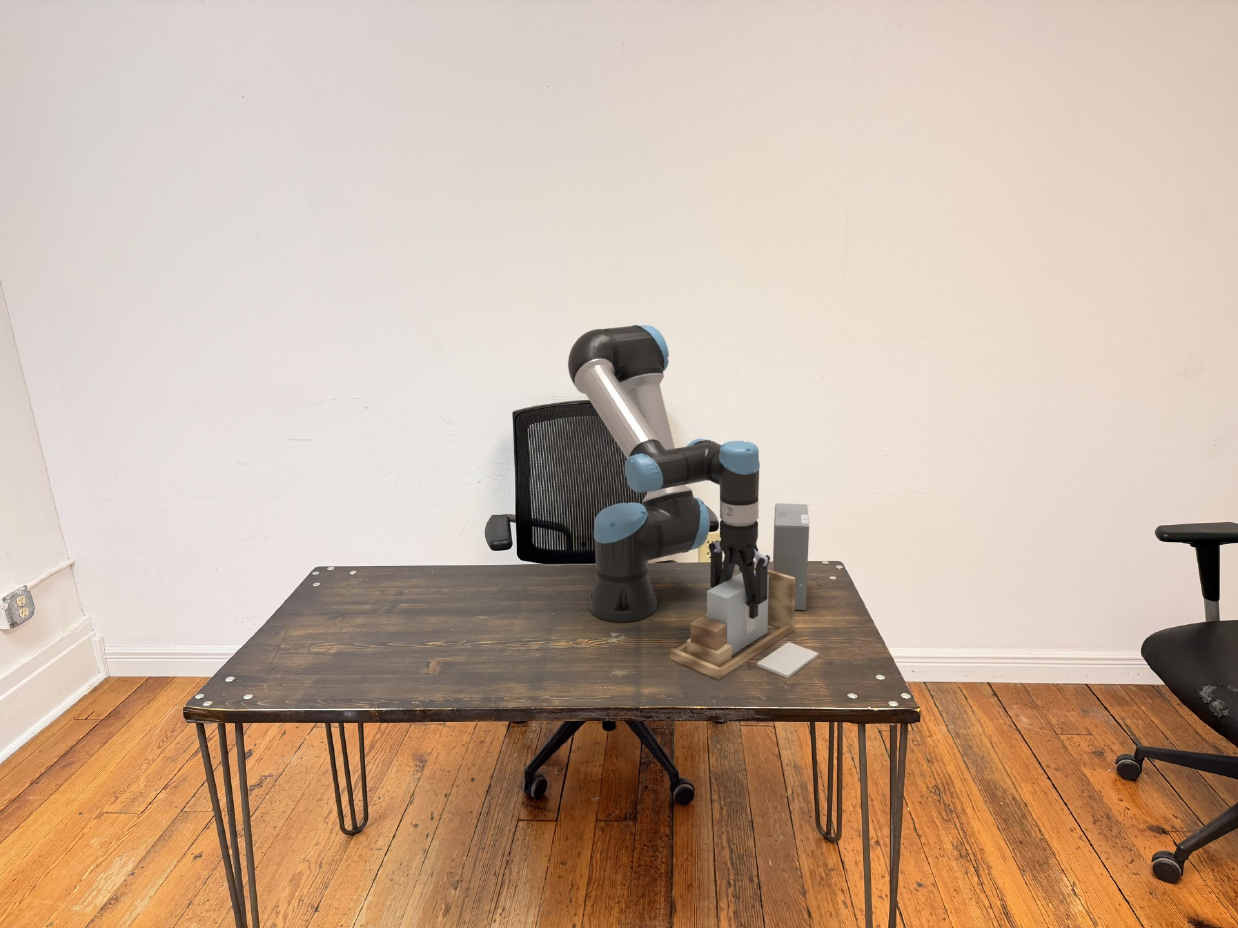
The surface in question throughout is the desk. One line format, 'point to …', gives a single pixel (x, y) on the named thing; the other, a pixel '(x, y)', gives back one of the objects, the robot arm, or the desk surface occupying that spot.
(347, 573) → the desk surface
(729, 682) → the desk surface
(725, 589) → the grey rectangular block
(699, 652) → the offcut lower
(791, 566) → the hard drive box
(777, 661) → the mat
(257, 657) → the desk surface
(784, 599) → the rack
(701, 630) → the offcut upper
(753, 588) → the robot arm
